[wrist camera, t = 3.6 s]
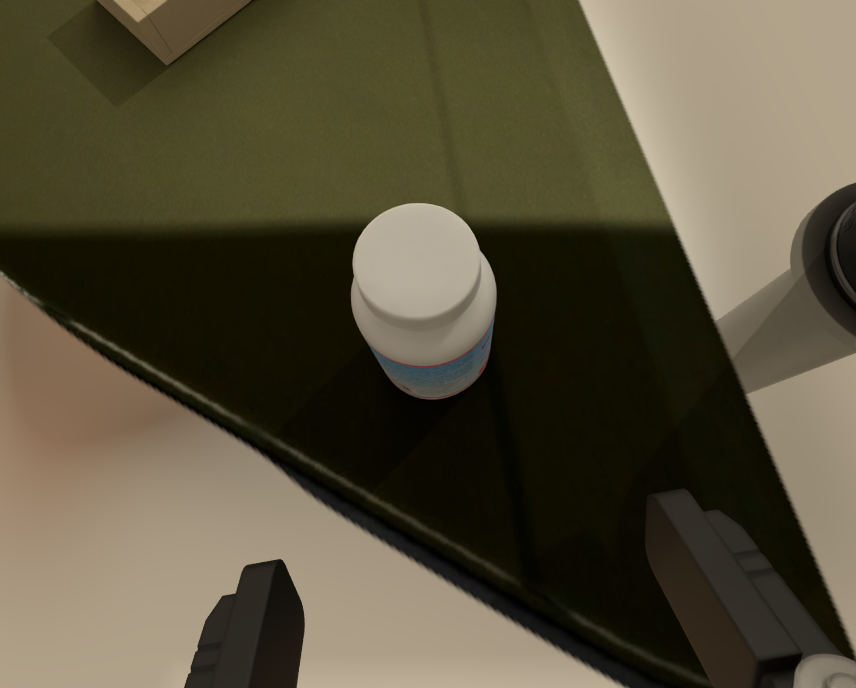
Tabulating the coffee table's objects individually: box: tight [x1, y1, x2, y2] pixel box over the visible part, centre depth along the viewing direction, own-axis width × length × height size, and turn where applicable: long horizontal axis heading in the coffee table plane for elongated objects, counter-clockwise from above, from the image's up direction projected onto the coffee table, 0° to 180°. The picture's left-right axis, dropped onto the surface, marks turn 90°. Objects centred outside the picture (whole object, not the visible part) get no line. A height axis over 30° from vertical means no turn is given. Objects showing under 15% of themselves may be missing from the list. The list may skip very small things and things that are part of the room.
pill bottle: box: [351, 203, 496, 399], centre depth 24 cm, size 6×6×11 cm
